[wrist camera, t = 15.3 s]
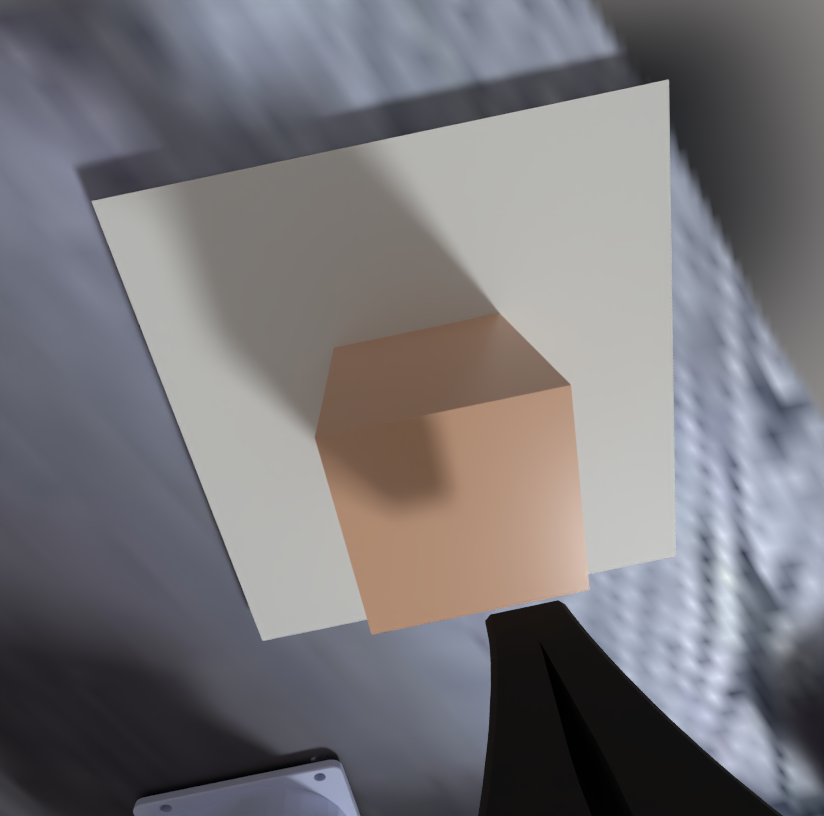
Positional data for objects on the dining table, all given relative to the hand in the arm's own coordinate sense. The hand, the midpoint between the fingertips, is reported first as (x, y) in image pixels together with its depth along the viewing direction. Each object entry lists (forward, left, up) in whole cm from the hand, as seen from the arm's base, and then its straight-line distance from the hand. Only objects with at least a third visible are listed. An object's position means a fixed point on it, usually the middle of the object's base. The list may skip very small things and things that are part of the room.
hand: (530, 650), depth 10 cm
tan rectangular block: (-1, +1, -9) cm, 9 cm away
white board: (-1, +1, -10) cm, 10 cm away
